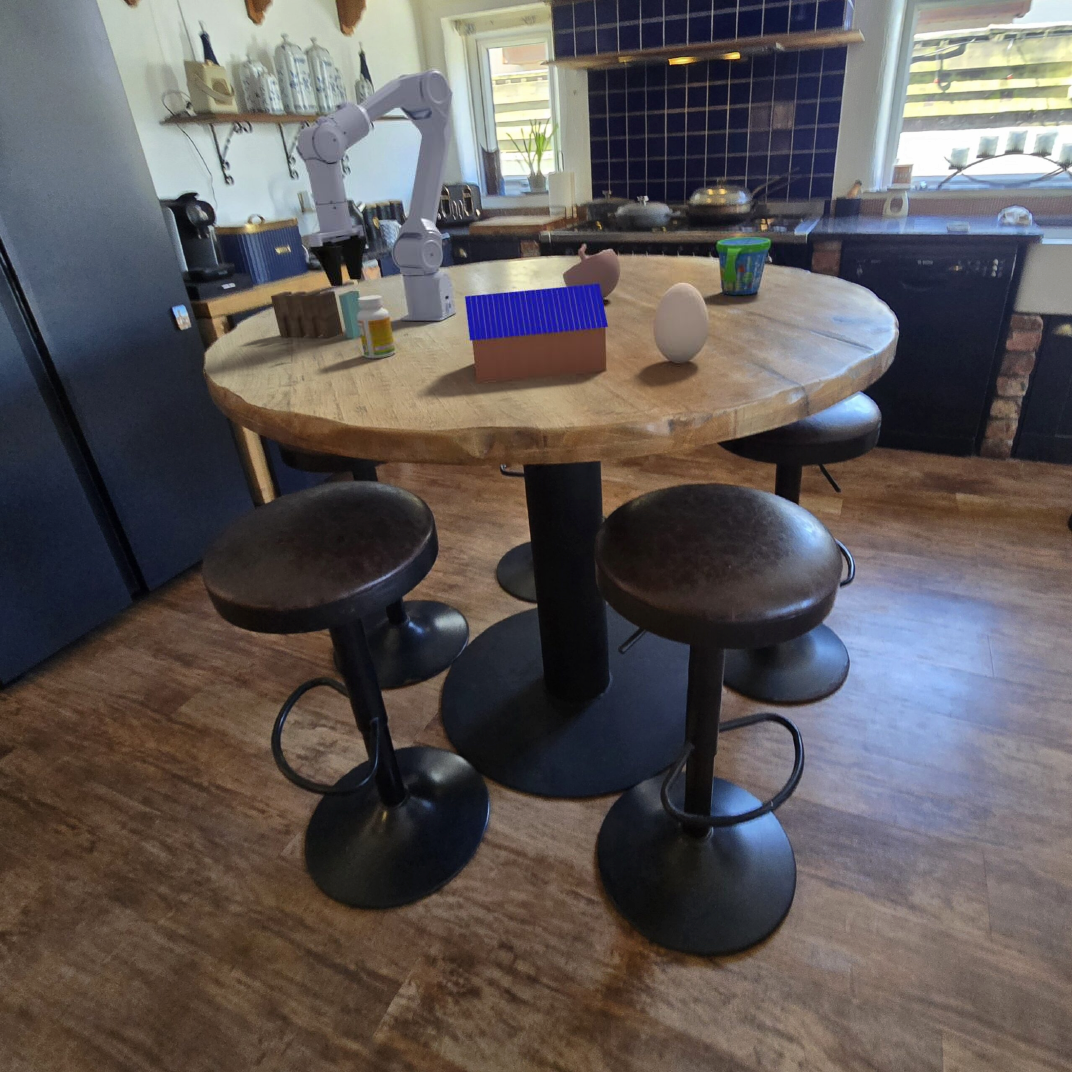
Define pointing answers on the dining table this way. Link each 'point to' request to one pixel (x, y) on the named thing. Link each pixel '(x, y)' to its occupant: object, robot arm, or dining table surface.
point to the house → (537, 332)
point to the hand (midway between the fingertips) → (346, 282)
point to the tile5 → (282, 314)
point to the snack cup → (742, 264)
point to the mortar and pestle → (595, 271)
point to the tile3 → (311, 314)
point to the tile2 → (328, 314)
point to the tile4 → (296, 314)
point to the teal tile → (350, 313)
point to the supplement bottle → (375, 328)
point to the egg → (681, 323)
